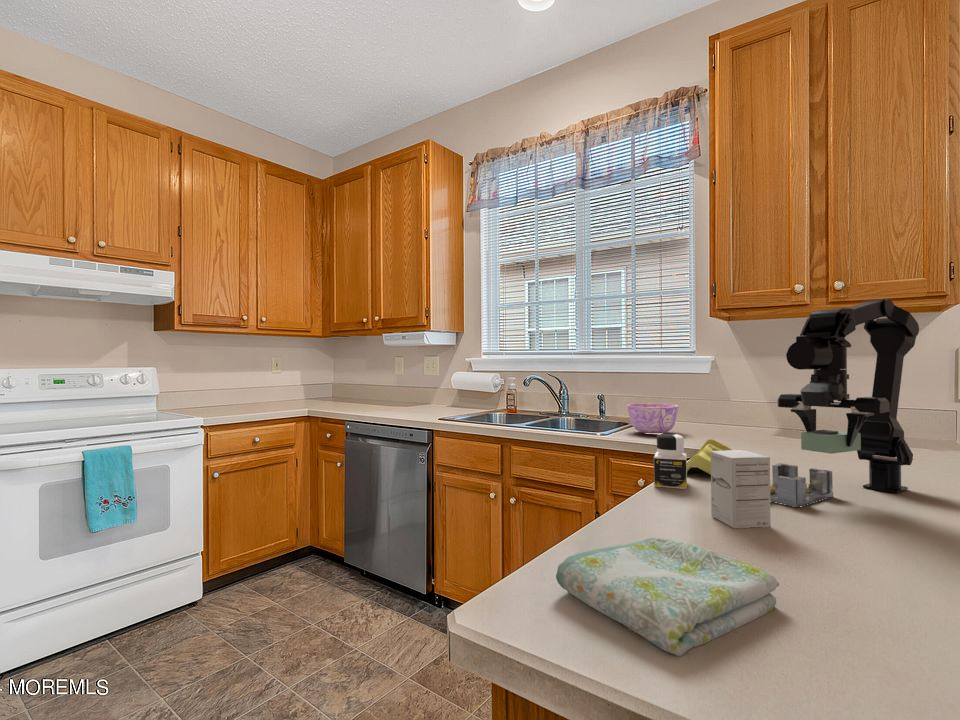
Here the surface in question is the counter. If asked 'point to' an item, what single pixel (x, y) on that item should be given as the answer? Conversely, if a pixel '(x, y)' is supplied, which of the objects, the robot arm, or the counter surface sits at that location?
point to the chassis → (799, 485)
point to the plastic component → (706, 455)
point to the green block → (828, 441)
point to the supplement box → (740, 488)
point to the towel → (669, 590)
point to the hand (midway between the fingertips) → (830, 444)
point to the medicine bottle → (670, 462)
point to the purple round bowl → (653, 417)
